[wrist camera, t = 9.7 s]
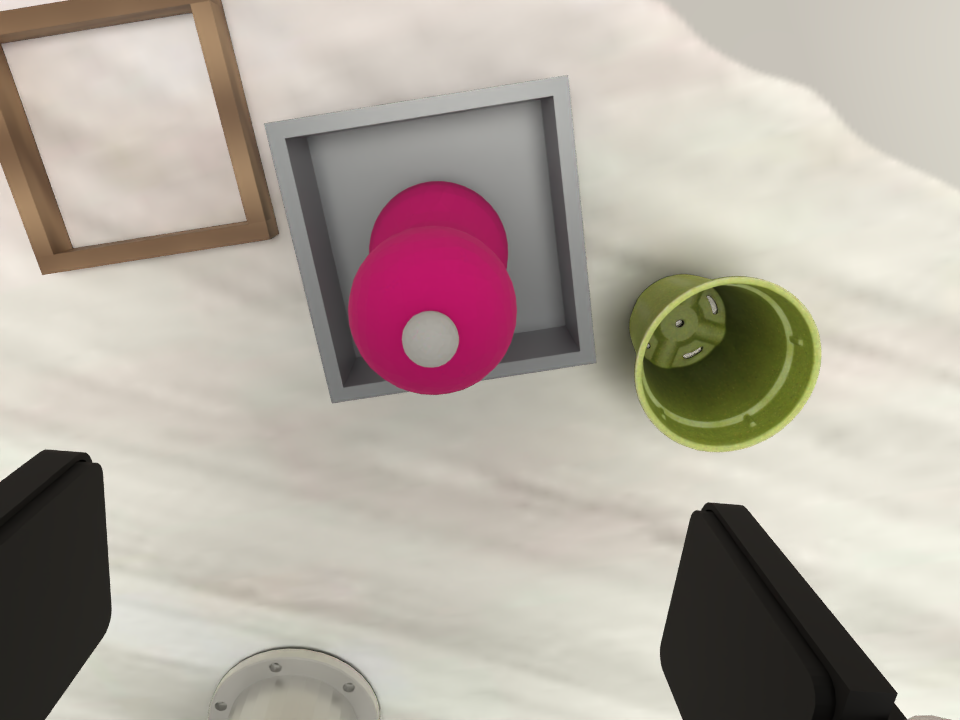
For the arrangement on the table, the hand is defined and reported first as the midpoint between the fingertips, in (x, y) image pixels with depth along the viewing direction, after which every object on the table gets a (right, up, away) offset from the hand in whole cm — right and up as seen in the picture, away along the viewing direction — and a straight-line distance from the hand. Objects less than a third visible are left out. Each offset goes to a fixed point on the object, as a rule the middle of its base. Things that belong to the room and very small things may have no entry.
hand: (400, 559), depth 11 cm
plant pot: (+13, +6, +31) cm, 35 cm away
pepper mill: (-1, +10, +28) cm, 30 cm away
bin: (-1, +11, +29) cm, 31 cm away
